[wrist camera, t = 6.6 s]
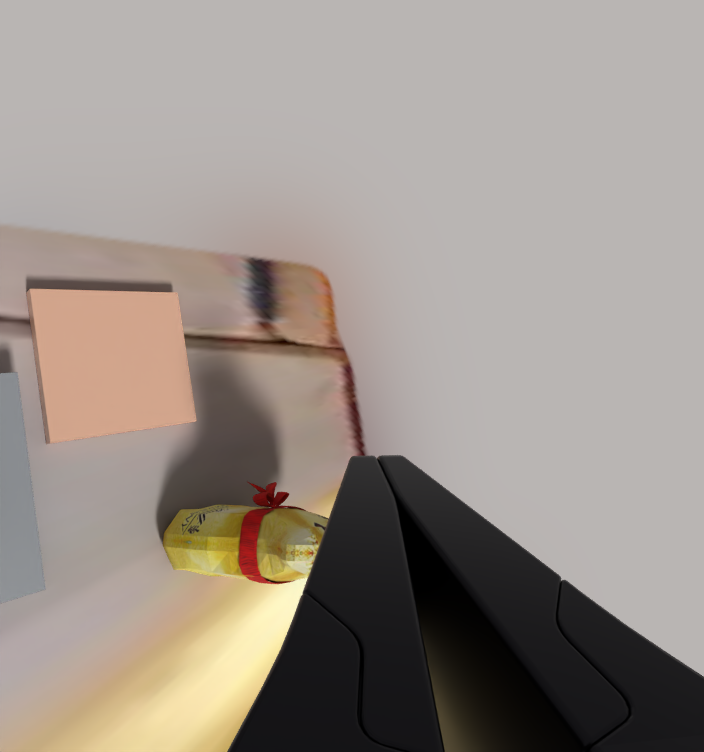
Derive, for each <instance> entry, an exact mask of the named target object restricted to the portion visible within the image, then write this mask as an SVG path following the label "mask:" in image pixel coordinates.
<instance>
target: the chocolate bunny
mask: <svg viewBox="0 0 704 752" xmlns="http://www.w3.org/2000/svg"><path fill="white" fill-rule="evenodd" d="M248 483H249V482H248ZM249 484H251V483H249ZM251 485H252V486H253V487H255V488H256V489H257V490H258V491H259V492H260V493H259V494H256V495H254V496H253V501H254V502H255V503H256V504H257V505H259V506H265V507H249V506H243V505H214V506H210V507H205V508H201V509H180V511H179V512H178V514H177V515H176V517H175V518H174V519H173V521H172V522H171V524H170V525H169V527H168V528H167V529H166V531H165V532H164V540H163V547H164V549H165V551H166V553H167V556H168V558H169V560H170V562H171V564H172V567H173V569H174V570H187V571H191V572H196V573H200V574H204V575H208V576H227V577H234V578H241V579H249V580H252V581H256V582H259V583H268V584H282V583H288V582H292V581H295V580H298V579H303V578H308V576H309V573H310V571H311V568H312V565H313V562H314V559H315V556H316V554H317V551H318V548H319V545H320V542H321V539H322V537H323V534H324V531H325V528H326V525H327V522H328V520H329V519H328V518H326V517H323V516H320V515H317V514H314V513H311V512H308V511H306V510H304V509H301V508H298V507H294V506H279V505H280V504H281V503H283V502H284V501H285V500H286V499H287V497H288V496H289V493H287V492H277V494H276V496H275V498H274V491H275V487H276V485H277V483H276V482H274V483H271V484H268V485H267V486H266V490H265V489H263V488H261V487H259V486H257V485H254V484H251ZM267 500H268V501H269V503H270V504H269V503H268V501H267ZM275 505H276V506H275ZM269 507H271V508H269ZM285 507H287V508H285ZM268 581H271V582H268Z"/></svg>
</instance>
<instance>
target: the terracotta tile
mask: <svg viewBox="0 0 704 752" xmlns="http://www.w3.org/2000/svg"><path fill="white" fill-rule="evenodd" d="M26 294H27V301H28V309H29V316H30V324H31V332H32V339H33V347H34V354H35V362H36V369H37V377H38V384H39V392H40V400H41V407H42V415H43V422H44V430H45V437H46V444H51V443H57V442H64V441H71V440H77V439H84V438H91V437H97V436H104V435H111V434H117V433H124V432H131V431H137V430H144V429H151V428H157V427H164V426H171V425H177V424H184V423H191V422H196V421H197V420H196V414H195V407H194V400H193V394H192V387H191V380H190V373H189V367H188V360H187V353H186V347H185V340H184V333H183V327H182V320H181V313H180V307H179V300H178V293H171V292H134V291H97V290H60V289H29V290H28V292H27V293H26Z"/></svg>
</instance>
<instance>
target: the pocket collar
mask: <svg viewBox="0 0 704 752" xmlns="http://www.w3.org/2000/svg"><path fill="white" fill-rule="evenodd" d="M45 589H46V588H45V581H44V573H43V565H42V558H41V550H40V542H39V535H38V527H37V519H36V512H35V504H34V496H33V488H32V481H31V473H30V465H29V458H28V450H27V442H26V435H25V427H24V419H23V412H22V404H21V396H20V389H19V381H18V373H17V372H13V373H0V603H4V602H7V601H10V600H13V599H16V598H20V597H23V596H26V595H29V594H32V593H35V592H39V591H42V590H45Z"/></svg>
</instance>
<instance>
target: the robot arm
mask: <svg viewBox="0 0 704 752" xmlns="http://www.w3.org/2000/svg"><path fill="white" fill-rule="evenodd" d="M227 752H704V677H703V676H702V675H700V674H699V673H697V672H695V671H694V670H693V669H691V668H690V667H688V666H686V665H685V664H683V663H682V662H680V661H679V660H677V659H676V658H674V657H673V656H671V655H670V654H668V653H667V652H665V651H664V650H662V649H661V648H659V647H658V646H656V645H655V644H654V643H652V642H650V641H649V640H648V639H646V638H645V637H643V636H642V635H640V634H639V633H637V632H636V631H634V630H633V629H631V628H630V627H628V626H627V625H625V624H624V623H623V622H621V621H620V620H619V619H617V618H616V617H615V616H613V615H612V614H610V613H609V612H608V611H606V610H605V609H603V608H602V607H601V606H599V605H598V604H596V603H595V602H594V601H593V600H591V599H590V598H589V597H587V596H586V595H584V594H583V593H582V592H581V591H579V590H578V589H577V588H575V587H574V586H573V585H572V584H570V583H569V582H568V581H566V580H562V581H561V577H560V576H559V575H558V574H557V573H556V572H554V571H553V570H552V569H550V568H549V567H548V566H546V565H545V564H544V563H542V562H541V561H540V560H539V559H537V558H536V557H535V556H533V555H532V554H531V553H529V552H528V551H527V550H525V549H524V548H522V547H521V546H520V545H519V544H518V543H516V542H515V541H514V540H512V539H511V538H510V537H508V536H507V535H506V534H504V533H503V532H502V531H501V530H499V529H498V528H497V527H495V526H494V525H493V524H491V523H490V522H489V521H487V520H486V519H485V518H484V517H482V516H481V515H480V514H478V513H477V512H476V511H474V510H473V509H472V508H470V507H469V506H468V505H467V504H465V503H464V502H462V501H461V500H460V499H459V498H457V497H456V496H455V495H453V494H452V493H451V492H450V491H448V490H447V489H446V488H444V487H443V486H442V485H440V484H439V483H438V482H436V481H435V480H434V479H432V478H431V477H430V476H429V475H427V474H426V473H425V472H423V471H422V470H421V469H419V468H418V467H417V466H415V465H414V464H413V463H411V462H410V461H409V460H407V459H406V458H405V457H403V456H401V455H389V456H379V457H378V458H376V457H375V456H352V457H351V458H350V460H349V463H348V466H347V469H346V471H345V474H344V477H343V480H342V483H341V486H340V488H339V491H338V494H337V497H336V500H335V503H334V505H333V508H332V511H331V514H330V517H329V520H328V522H327V525H326V528H325V531H324V534H323V537H322V539H321V542H320V545H319V548H318V551H317V554H316V556H315V559H314V562H313V565H312V568H311V571H310V573H309V576H308V579H307V582H306V585H305V588H304V590H303V595H302V596H301V598H300V601H299V604H298V606H297V609H296V612H295V615H294V617H293V620H292V622H291V625H290V627H289V630H288V632H287V635H286V637H285V640H284V642H283V645H282V647H281V650H280V652H279V654H278V656H277V658H276V660H275V662H274V664H273V666H272V668H271V670H270V672H269V674H268V676H267V678H266V680H265V682H264V684H263V686H262V688H261V690H260V692H259V694H258V696H257V697H256V699H255V701H254V703H253V705H252V707H251V709H250V710H249V712H248V714H247V716H246V718H245V720H244V722H243V723H242V725H241V727H240V729H239V731H238V733H237V735H236V736H235V738H234V740H233V742H232V744H231V746H230V748H229V749H228V751H227Z"/></svg>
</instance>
